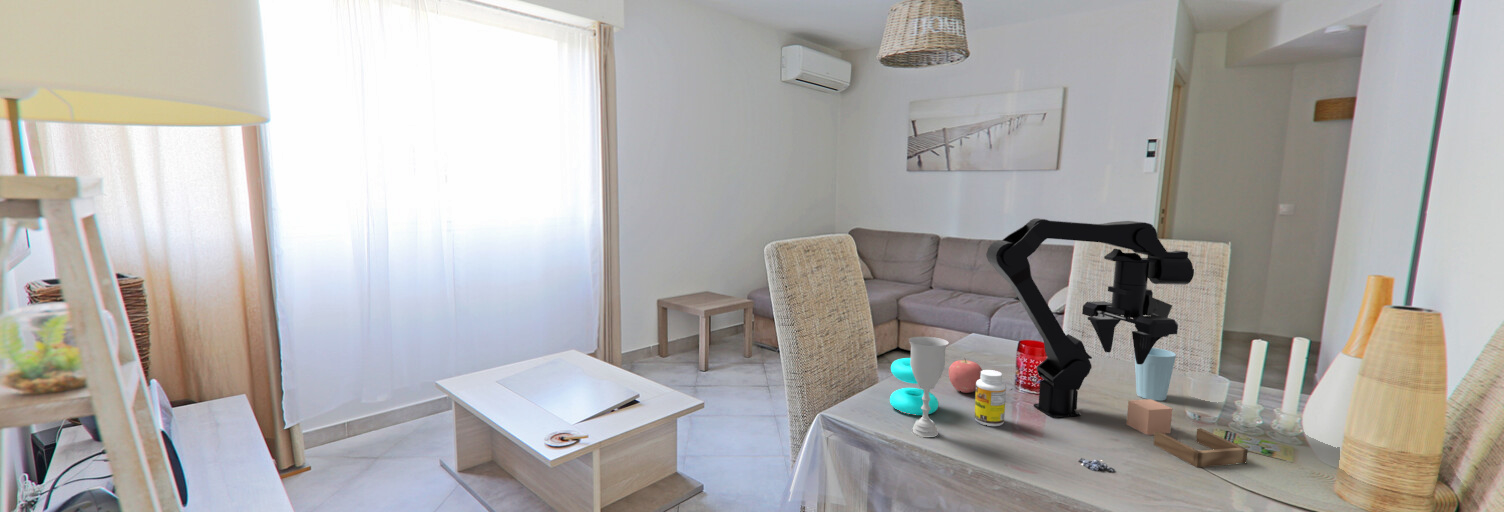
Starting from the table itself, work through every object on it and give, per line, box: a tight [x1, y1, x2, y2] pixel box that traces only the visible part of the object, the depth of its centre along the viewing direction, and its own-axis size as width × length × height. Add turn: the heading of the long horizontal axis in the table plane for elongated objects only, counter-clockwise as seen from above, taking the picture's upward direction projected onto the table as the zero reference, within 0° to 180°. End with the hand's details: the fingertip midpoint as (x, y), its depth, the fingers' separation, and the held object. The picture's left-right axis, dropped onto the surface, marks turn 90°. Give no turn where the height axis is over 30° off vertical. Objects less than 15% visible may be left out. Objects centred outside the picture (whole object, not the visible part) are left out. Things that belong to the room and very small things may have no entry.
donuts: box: [889, 357, 939, 416], centre depth 123 cm, size 10×10×10 cm
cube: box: [1126, 399, 1173, 436], centre depth 113 cm, size 5×5×5 cm
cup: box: [1134, 347, 1177, 402], centre depth 130 cm, size 8×8×10 cm
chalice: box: [908, 336, 949, 436], centre depth 110 cm, size 7×7×18 cm
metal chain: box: [1077, 457, 1116, 474], centre depth 98 cm, size 7×8×2 cm
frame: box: [1153, 427, 1249, 468], centre depth 102 cm, size 10×9×2 cm
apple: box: [948, 357, 983, 394], centre depth 133 cm, size 7×7×8 cm
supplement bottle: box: [974, 369, 1007, 427], centre depth 116 cm, size 6×6×10 cm
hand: (1123, 358), depth 119 cm, fingers open, 8 cm apart
